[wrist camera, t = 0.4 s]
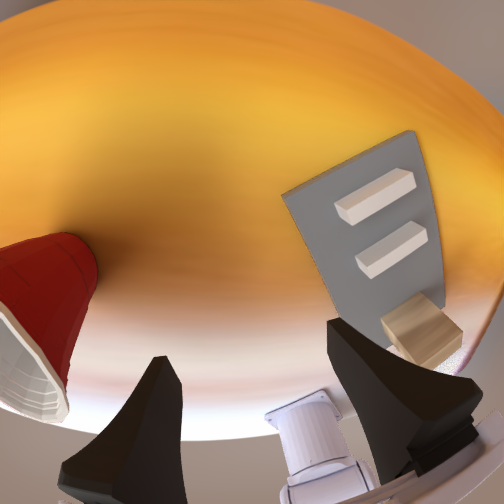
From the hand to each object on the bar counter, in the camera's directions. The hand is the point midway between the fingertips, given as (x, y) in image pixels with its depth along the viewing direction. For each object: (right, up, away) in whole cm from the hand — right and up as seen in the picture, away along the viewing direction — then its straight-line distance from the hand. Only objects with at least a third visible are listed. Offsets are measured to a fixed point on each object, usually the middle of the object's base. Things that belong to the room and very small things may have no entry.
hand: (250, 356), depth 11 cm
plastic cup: (-15, +3, +7) cm, 17 cm away
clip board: (+12, +4, +11) cm, 17 cm away
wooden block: (+15, -1, +13) cm, 20 cm away
